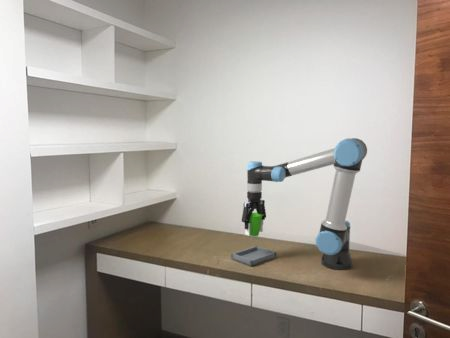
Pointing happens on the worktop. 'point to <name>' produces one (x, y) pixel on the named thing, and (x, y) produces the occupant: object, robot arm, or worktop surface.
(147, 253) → the worktop surface
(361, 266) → the worktop surface
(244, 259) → the grey tray
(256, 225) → the cup
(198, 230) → the worktop surface
